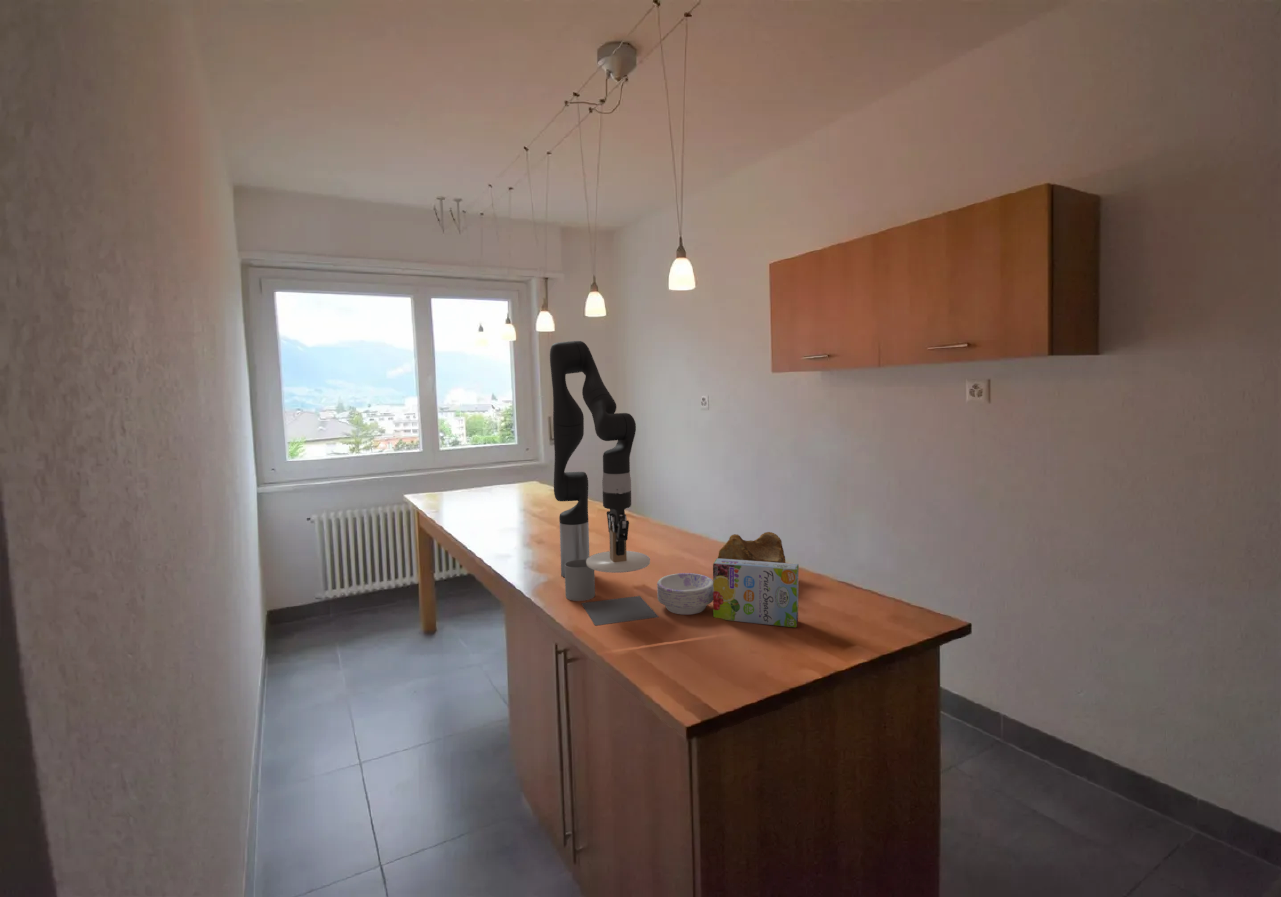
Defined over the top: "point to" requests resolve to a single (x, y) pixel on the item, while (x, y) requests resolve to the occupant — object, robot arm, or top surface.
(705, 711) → the top surface
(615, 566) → the lid
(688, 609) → the paper bowls
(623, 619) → the mat
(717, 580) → the snack box
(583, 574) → the cup
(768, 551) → the rough brown rock
